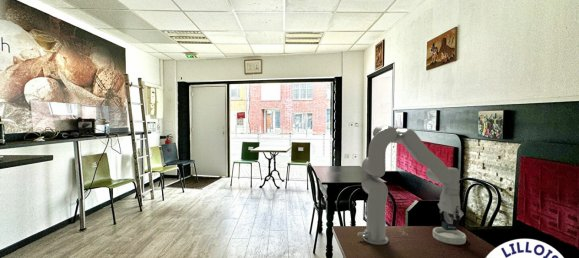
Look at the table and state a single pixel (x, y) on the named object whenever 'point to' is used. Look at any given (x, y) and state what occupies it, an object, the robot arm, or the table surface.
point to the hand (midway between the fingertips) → (449, 223)
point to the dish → (449, 236)
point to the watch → (448, 222)
